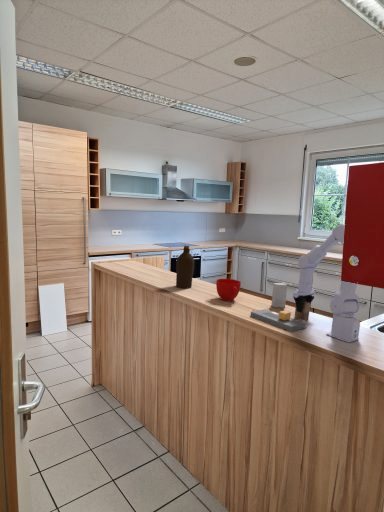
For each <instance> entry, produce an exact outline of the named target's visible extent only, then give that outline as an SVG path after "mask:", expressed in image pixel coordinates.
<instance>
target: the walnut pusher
mask: <svg viewBox="0 0 384 512" xmlns="http://www.w3.org/2000/svg"><path fill="white" fill-rule="evenodd" d="M310 309H311V304H310V302H307V301H305V302H304V305H303V310H302V312H297V308H296V307H295V309H294V319H297V320H300V319H301V320H300V321H303V320H305V321H308V320H309V319H310V318H309V317H310Z"/></svg>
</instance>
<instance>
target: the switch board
mask: <svg viewBox="0 0 384 512" xmlns="http://www.w3.org/2000/svg"><path fill="white" fill-rule="evenodd" d="M250 317H251V318H254V319H257V320H260V321H263V322H265V323H268V324H271V325H272V326H276V327H278V328H281V329H284V330H286V331H288V332H294V331H299V330H302V329H306V328H307V322H305V321H304V322H303V321H302V320H299V319H297V318H293V317H290V319H288V320H282V319H279V312H275V311H272V310H269V309H265V308H264V309H257V310H254V311H250Z"/></svg>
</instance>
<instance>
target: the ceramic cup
mask: <svg viewBox="0 0 384 512" xmlns="http://www.w3.org/2000/svg"><path fill="white" fill-rule="evenodd" d="M215 282H216V283H215V284H216V293H217V295H218V296H219V298H220V300H222V301H225V302H231V301H234V300H235V298H237V297H238V295H239V294H240V290H241V284H242V282H241V281H240V280H237V279H232V278H218V279H216V281H215Z"/></svg>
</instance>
